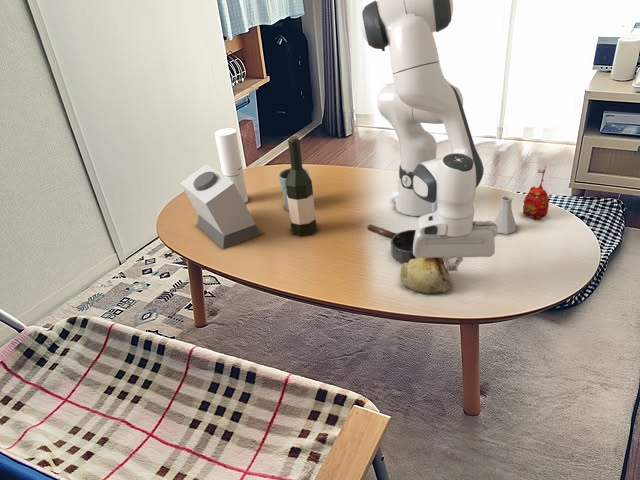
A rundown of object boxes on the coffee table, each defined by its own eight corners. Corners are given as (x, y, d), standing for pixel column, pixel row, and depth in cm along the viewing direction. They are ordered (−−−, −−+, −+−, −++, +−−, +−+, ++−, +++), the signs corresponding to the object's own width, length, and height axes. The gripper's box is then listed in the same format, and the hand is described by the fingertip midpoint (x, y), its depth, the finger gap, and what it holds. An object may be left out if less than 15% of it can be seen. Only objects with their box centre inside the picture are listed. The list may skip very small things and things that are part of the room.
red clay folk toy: (517, 215, 175) (523, 169, 166) (530, 207, 178) (536, 162, 169) (539, 223, 170) (547, 176, 161) (552, 214, 173) (560, 168, 164)
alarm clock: (260, 234, 180) (250, 174, 168) (216, 251, 174) (202, 189, 162) (233, 213, 194) (221, 156, 182) (191, 227, 188) (176, 170, 176)
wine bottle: (314, 236, 175) (304, 142, 157) (288, 236, 177) (275, 142, 159) (319, 224, 182) (310, 132, 164) (294, 224, 184) (282, 132, 166)
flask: (520, 227, 169) (524, 196, 163) (508, 236, 165) (512, 205, 159) (498, 220, 173) (501, 190, 167) (486, 230, 169) (489, 199, 163)
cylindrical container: (252, 198, 203) (240, 129, 188) (239, 206, 198) (226, 136, 183) (236, 195, 206) (223, 127, 191) (224, 203, 201) (210, 134, 186)
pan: (410, 239, 169) (410, 225, 166) (445, 252, 161) (446, 238, 158) (381, 256, 162) (381, 243, 160) (417, 271, 154) (418, 257, 152)
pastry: (461, 287, 146) (462, 260, 142) (420, 302, 143) (421, 275, 138) (429, 263, 157) (430, 238, 152) (391, 277, 153) (391, 251, 148)
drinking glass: (294, 215, 189) (290, 181, 182) (277, 206, 195) (272, 173, 188) (318, 205, 193) (314, 171, 186) (300, 196, 200) (296, 164, 193)
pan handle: (365, 230, 170) (365, 225, 169) (370, 228, 171) (370, 222, 170) (396, 242, 163) (396, 236, 162) (401, 239, 164) (401, 233, 163)
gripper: (496, 215, 139) (491, 263, 147) (413, 217, 142) (412, 264, 150) (500, 227, 134) (494, 276, 142) (413, 229, 137) (412, 276, 145)
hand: (451, 269), depth 146 cm, fingers closed
